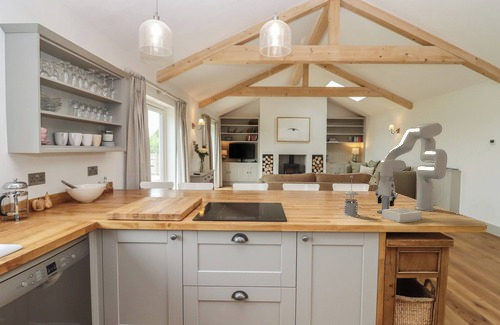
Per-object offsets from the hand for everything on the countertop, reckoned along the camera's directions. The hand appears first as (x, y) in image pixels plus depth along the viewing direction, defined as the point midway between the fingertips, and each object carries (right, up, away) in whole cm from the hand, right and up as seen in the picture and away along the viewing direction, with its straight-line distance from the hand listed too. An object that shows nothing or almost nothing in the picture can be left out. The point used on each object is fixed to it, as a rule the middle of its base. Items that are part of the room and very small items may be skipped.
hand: (385, 204), depth 172 cm
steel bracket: (0, -6, 0) cm, 6 cm away
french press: (-25, -6, -5) cm, 26 cm away
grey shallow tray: (+2, -6, -15) cm, 16 cm away
